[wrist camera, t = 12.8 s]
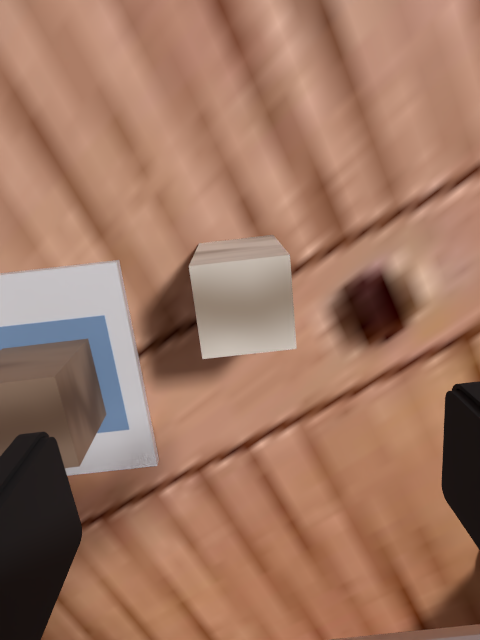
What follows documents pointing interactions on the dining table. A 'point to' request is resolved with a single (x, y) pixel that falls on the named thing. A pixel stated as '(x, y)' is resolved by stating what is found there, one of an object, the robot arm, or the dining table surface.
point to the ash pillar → (243, 296)
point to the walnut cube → (51, 396)
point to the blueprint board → (105, 342)
